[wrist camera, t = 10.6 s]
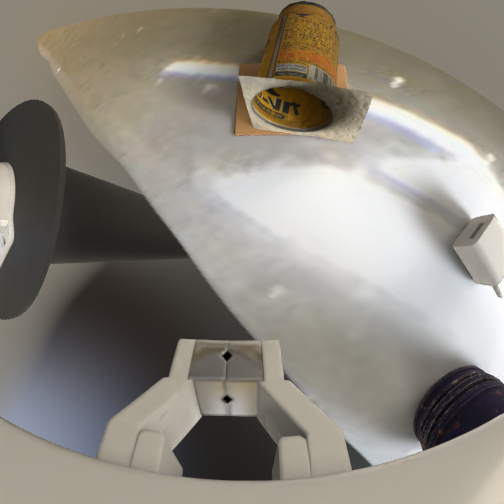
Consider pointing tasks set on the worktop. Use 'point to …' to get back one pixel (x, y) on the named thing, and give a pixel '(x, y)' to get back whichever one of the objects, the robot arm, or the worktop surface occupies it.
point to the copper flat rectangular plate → (242, 113)
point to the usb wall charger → (483, 250)
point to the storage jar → (458, 405)
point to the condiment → (304, 80)
